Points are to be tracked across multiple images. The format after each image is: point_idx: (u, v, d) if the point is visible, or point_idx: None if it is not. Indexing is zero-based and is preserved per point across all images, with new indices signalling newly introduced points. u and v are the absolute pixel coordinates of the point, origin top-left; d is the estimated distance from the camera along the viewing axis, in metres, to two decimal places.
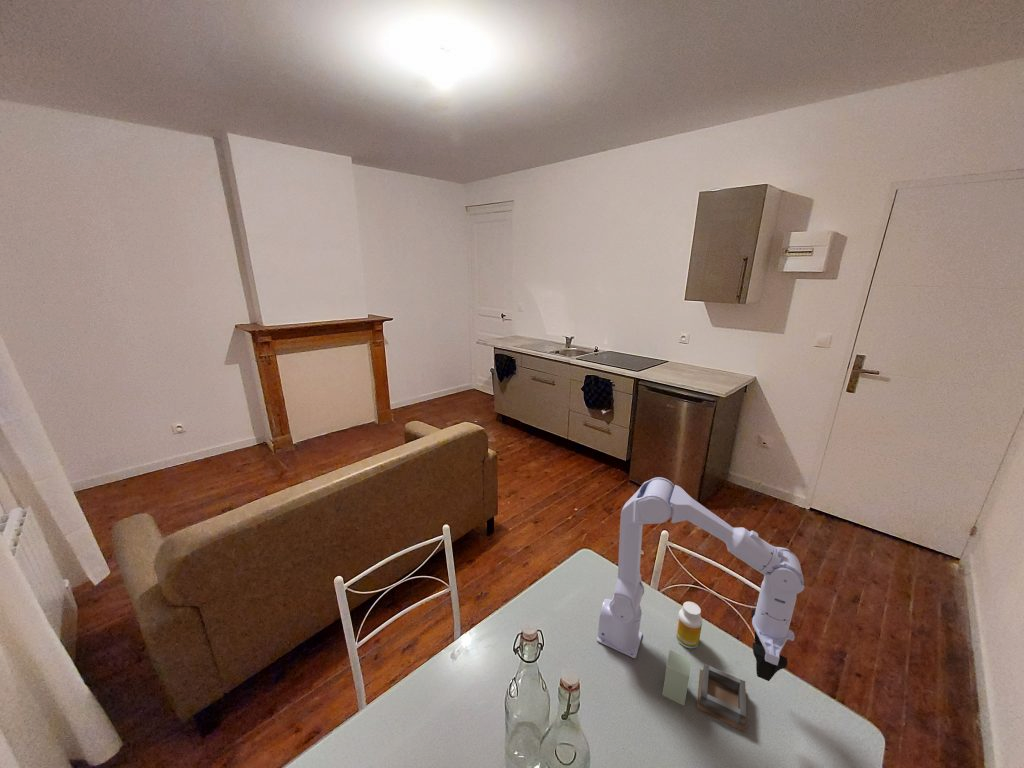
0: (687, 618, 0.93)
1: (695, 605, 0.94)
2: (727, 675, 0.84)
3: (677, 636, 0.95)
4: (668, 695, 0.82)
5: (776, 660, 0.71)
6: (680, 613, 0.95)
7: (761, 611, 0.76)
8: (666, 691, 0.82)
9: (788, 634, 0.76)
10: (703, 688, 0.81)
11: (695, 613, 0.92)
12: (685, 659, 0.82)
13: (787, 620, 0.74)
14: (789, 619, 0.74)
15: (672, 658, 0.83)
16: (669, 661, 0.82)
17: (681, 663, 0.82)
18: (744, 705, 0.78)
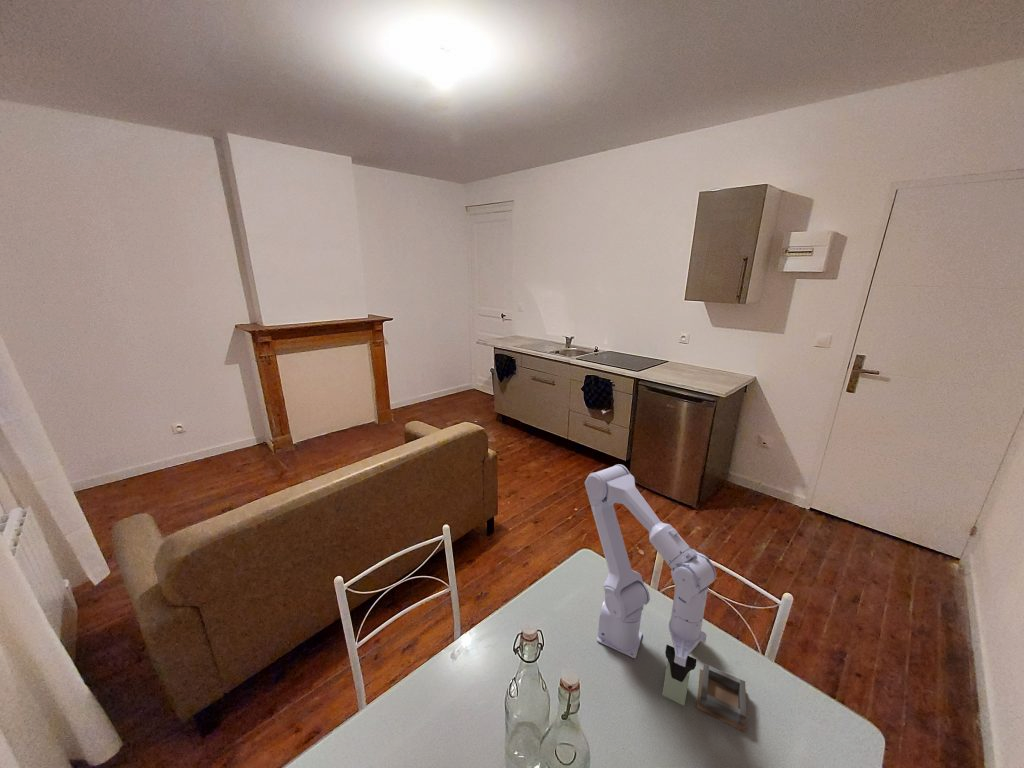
0: None
1: None
2: (727, 675, 0.84)
3: None
4: (668, 695, 0.82)
5: (683, 661, 0.73)
6: None
7: (674, 614, 0.78)
8: (666, 691, 0.82)
9: (700, 636, 0.78)
10: (703, 688, 0.81)
11: None
12: None
13: (697, 622, 0.76)
14: (699, 621, 0.76)
15: None
16: None
17: None
18: (744, 705, 0.78)
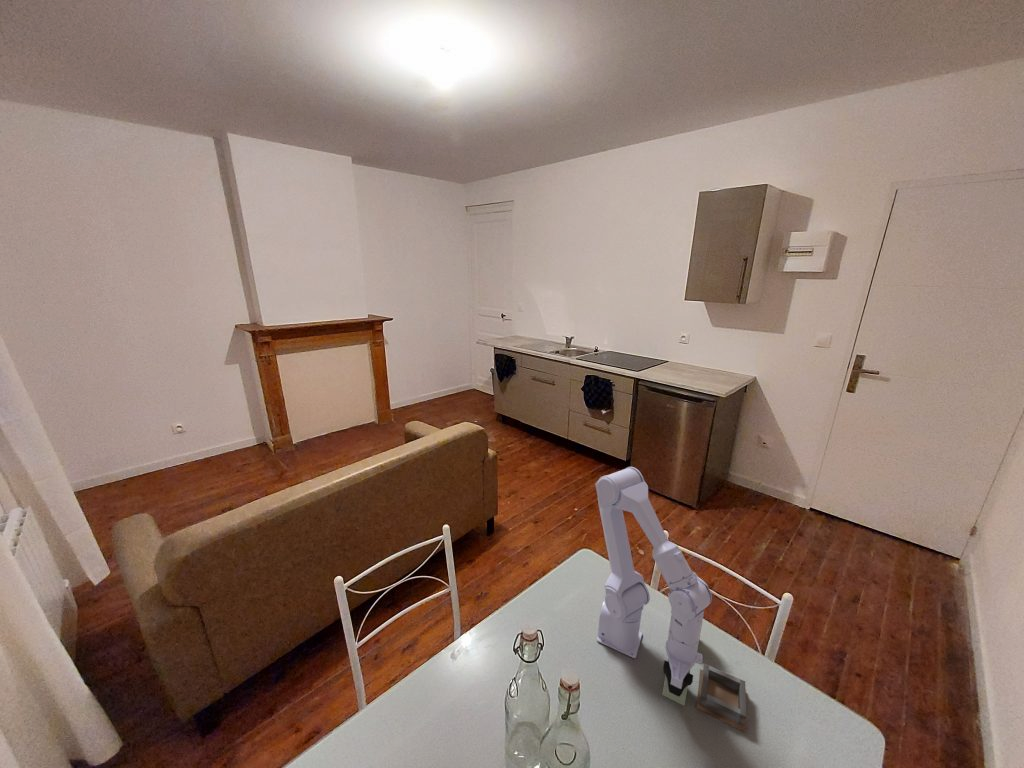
0: None
1: None
2: (727, 675, 0.84)
3: None
4: (668, 695, 0.82)
5: (680, 683, 0.75)
6: None
7: (671, 635, 0.79)
8: (666, 691, 0.82)
9: (696, 657, 0.79)
10: (703, 688, 0.81)
11: None
12: None
13: (693, 645, 0.77)
14: (695, 644, 0.77)
15: None
16: None
17: None
18: (744, 705, 0.78)
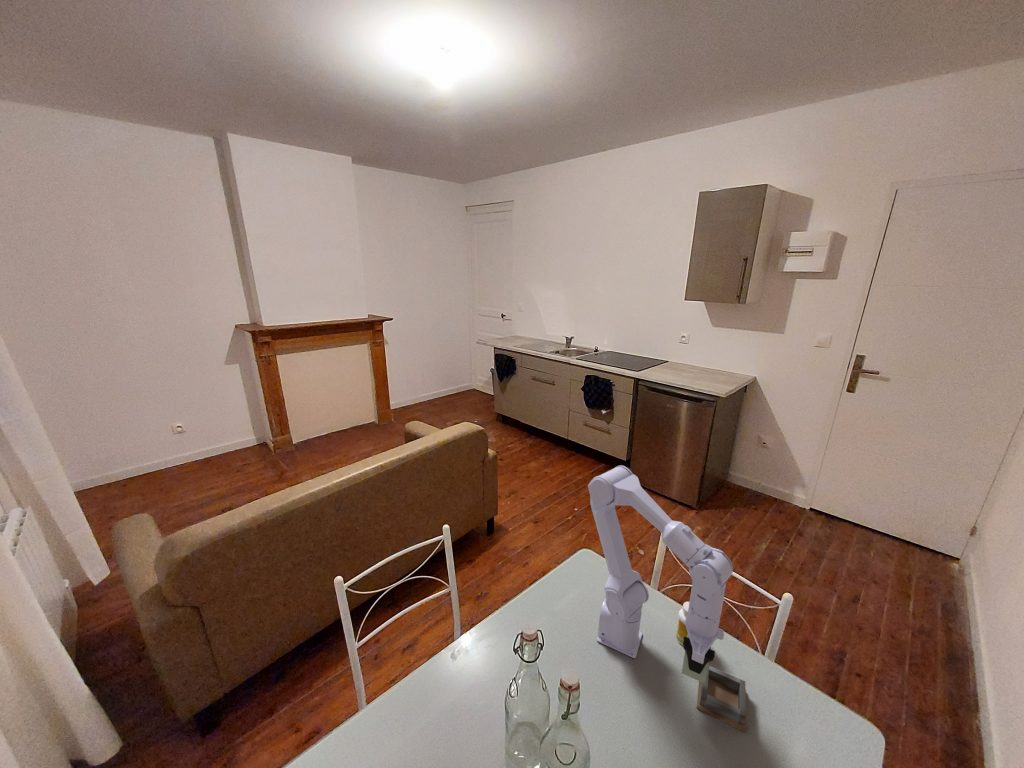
0: None
1: None
2: (727, 675, 0.84)
3: (677, 636, 0.95)
4: (688, 673, 0.80)
5: (702, 658, 0.72)
6: (680, 613, 0.95)
7: (691, 610, 0.77)
8: (686, 669, 0.80)
9: (718, 633, 0.77)
10: (703, 688, 0.81)
11: None
12: None
13: (715, 619, 0.75)
14: (717, 618, 0.75)
15: None
16: None
17: None
18: (744, 705, 0.78)
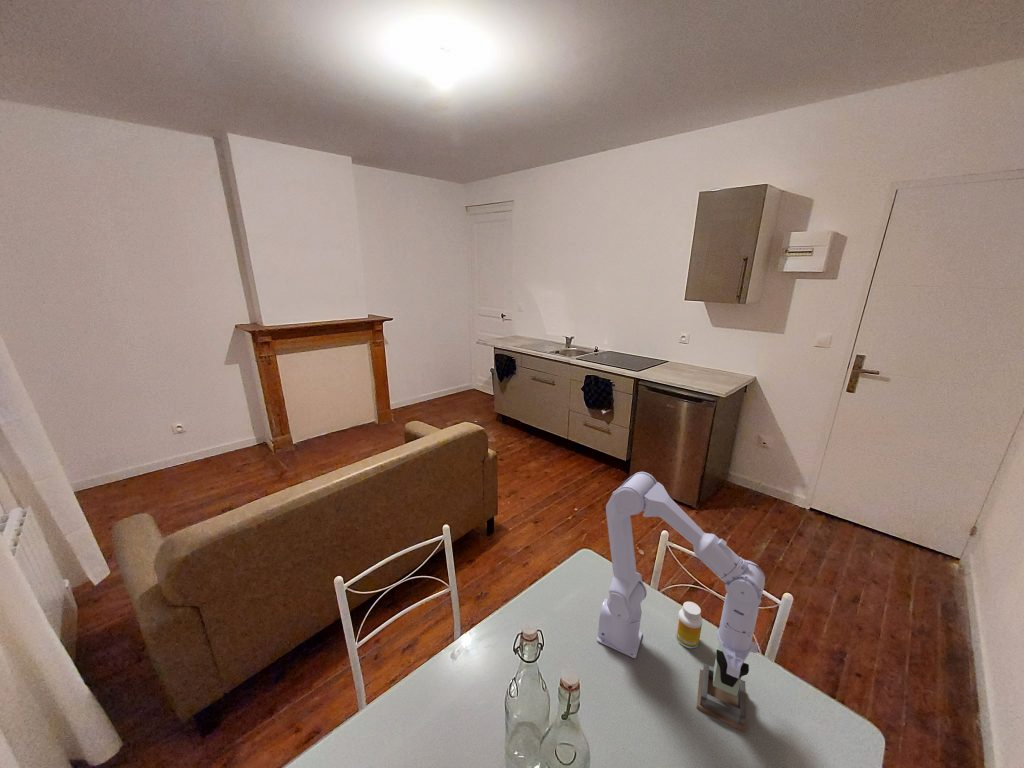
0: (687, 618, 0.93)
1: (695, 605, 0.94)
2: None
3: (677, 636, 0.95)
4: (720, 686, 0.79)
5: (737, 673, 0.71)
6: (680, 613, 0.95)
7: (724, 623, 0.76)
8: (717, 682, 0.79)
9: (751, 646, 0.76)
10: (703, 688, 0.81)
11: (695, 613, 0.92)
12: None
13: (749, 633, 0.74)
14: (751, 632, 0.74)
15: None
16: (721, 650, 0.79)
17: None
18: (744, 705, 0.78)
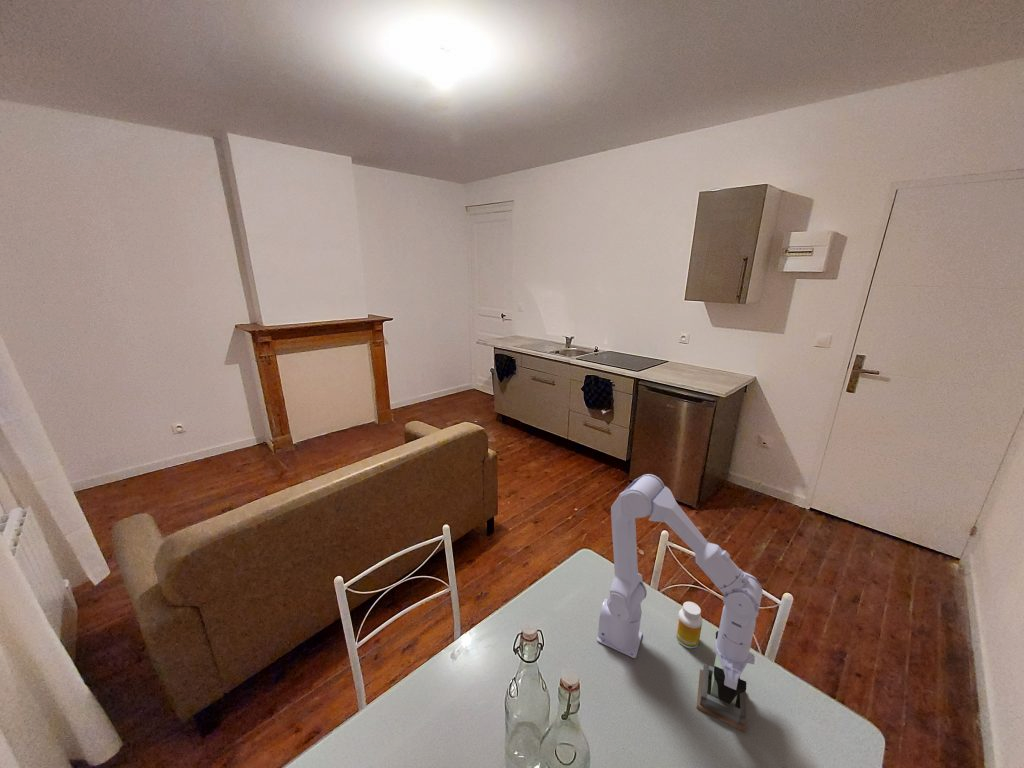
0: (687, 618, 0.93)
1: (695, 605, 0.94)
2: None
3: (677, 636, 0.95)
4: None
5: (735, 684, 0.72)
6: (680, 613, 0.95)
7: (722, 635, 0.77)
8: None
9: (749, 657, 0.77)
10: (703, 688, 0.81)
11: (695, 613, 0.92)
12: None
13: (747, 644, 0.75)
14: (749, 643, 0.75)
15: (720, 663, 0.81)
16: None
17: None
18: (744, 705, 0.78)
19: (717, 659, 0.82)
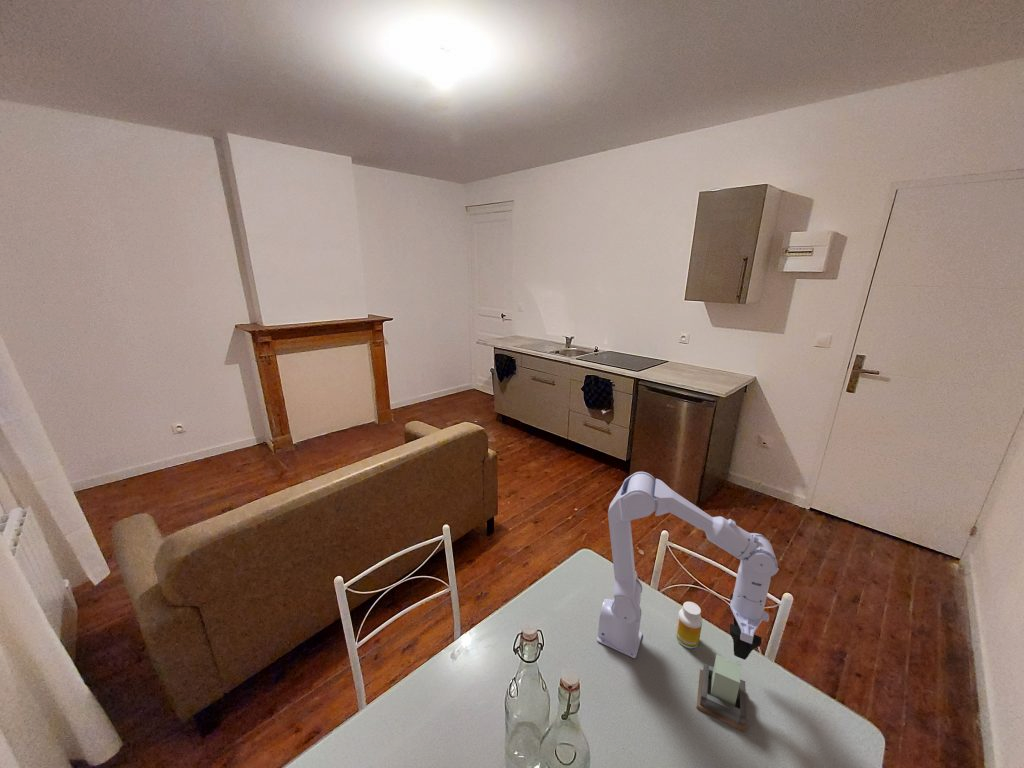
0: (687, 618, 0.93)
1: (695, 605, 0.94)
2: None
3: (677, 636, 0.95)
4: None
5: (751, 638, 0.76)
6: (680, 613, 0.95)
7: (738, 594, 0.81)
8: None
9: (763, 615, 0.80)
10: (703, 688, 0.81)
11: (695, 613, 0.92)
12: (733, 664, 0.81)
13: (762, 602, 0.78)
14: (763, 601, 0.78)
15: (720, 663, 0.81)
16: (717, 667, 0.80)
17: (730, 669, 0.80)
18: (744, 705, 0.78)
19: (717, 659, 0.82)
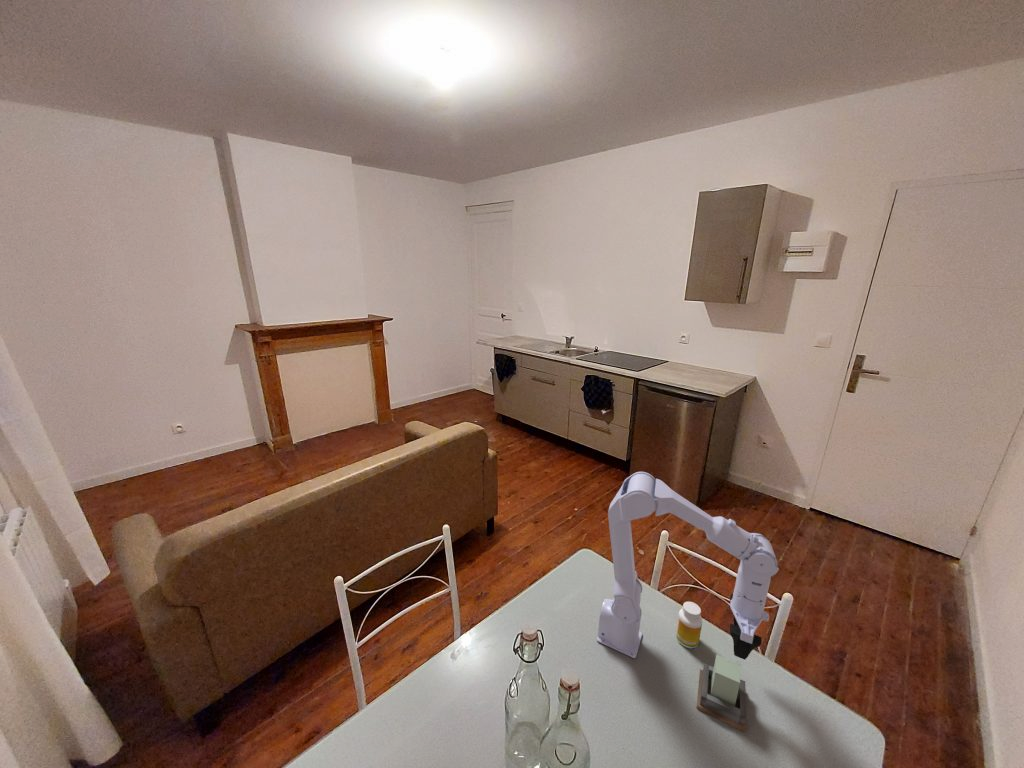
0: (687, 618, 0.93)
1: (695, 605, 0.94)
2: None
3: (677, 636, 0.95)
4: None
5: (751, 638, 0.76)
6: (680, 613, 0.95)
7: (738, 593, 0.81)
8: None
9: (763, 615, 0.80)
10: (703, 688, 0.81)
11: (695, 613, 0.92)
12: (733, 664, 0.81)
13: (762, 601, 0.78)
14: (764, 601, 0.78)
15: (720, 663, 0.81)
16: (717, 667, 0.80)
17: (730, 669, 0.80)
18: (744, 705, 0.78)
19: (717, 659, 0.82)
